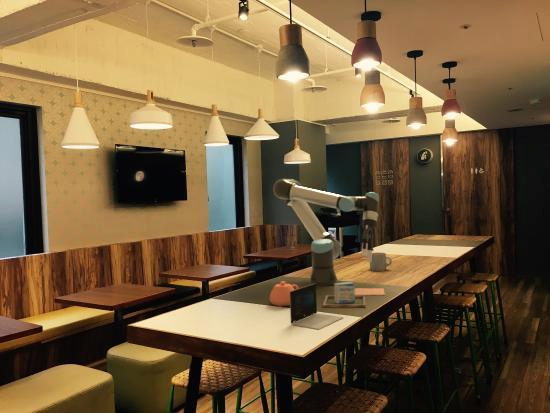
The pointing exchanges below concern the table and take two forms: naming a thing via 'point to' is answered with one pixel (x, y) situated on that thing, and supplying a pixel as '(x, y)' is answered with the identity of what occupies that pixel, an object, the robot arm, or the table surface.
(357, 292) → the terracotta mat
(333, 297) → the walnut frame
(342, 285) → the medicine box
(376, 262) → the coffee mug
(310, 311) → the laptop
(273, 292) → the sugar bowl
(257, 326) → the table surface
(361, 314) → the table surface
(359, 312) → the table surface
